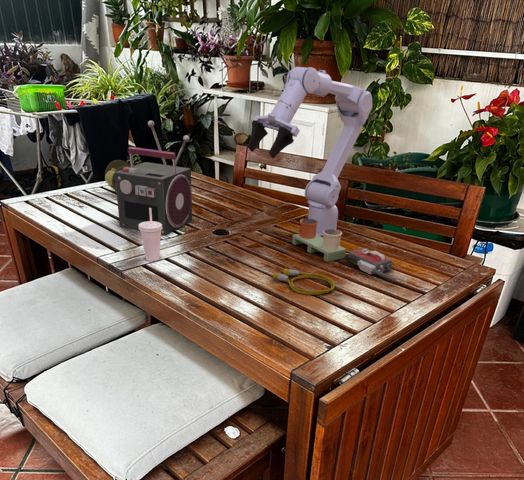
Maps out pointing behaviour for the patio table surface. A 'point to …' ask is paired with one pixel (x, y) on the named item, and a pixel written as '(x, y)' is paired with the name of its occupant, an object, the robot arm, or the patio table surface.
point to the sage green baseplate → (319, 247)
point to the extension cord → (295, 272)
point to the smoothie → (151, 238)
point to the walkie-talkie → (370, 262)
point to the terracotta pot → (308, 228)
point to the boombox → (154, 190)
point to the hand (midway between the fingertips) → (260, 152)
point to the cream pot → (331, 239)
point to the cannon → (113, 168)
